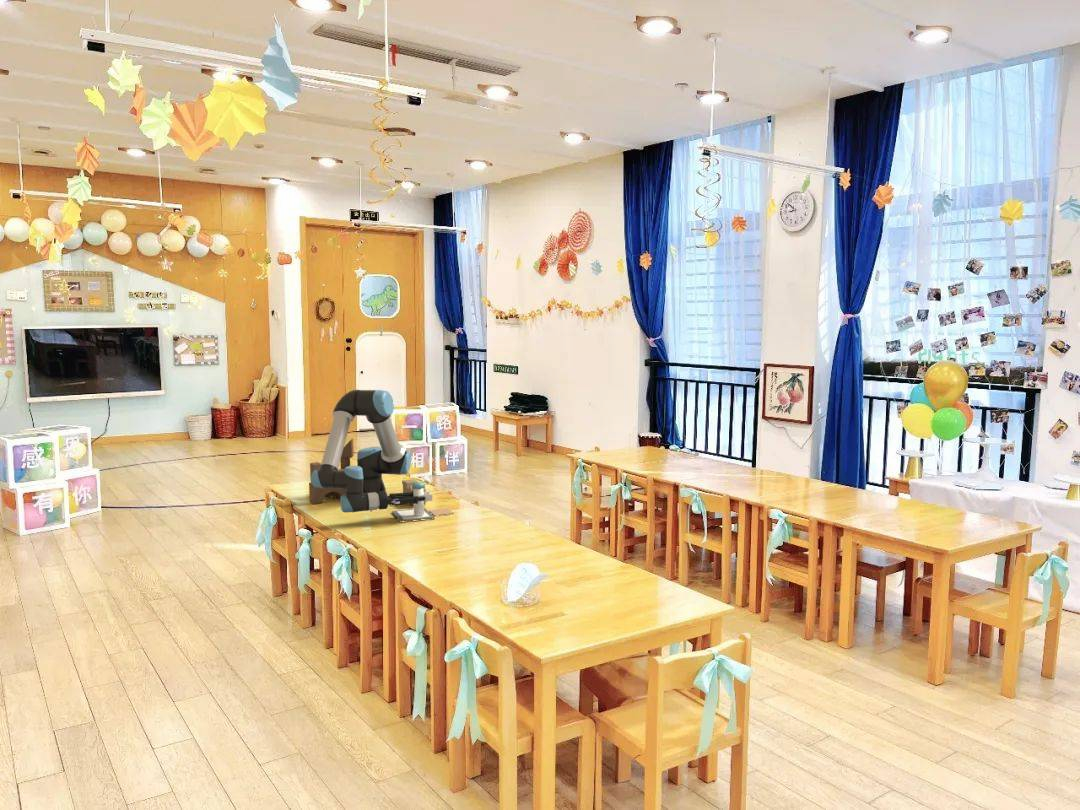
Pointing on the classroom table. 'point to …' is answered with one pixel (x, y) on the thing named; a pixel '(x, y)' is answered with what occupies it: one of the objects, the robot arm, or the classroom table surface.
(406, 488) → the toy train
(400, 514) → the writing board
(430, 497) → the robot arm
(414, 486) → the white bottle
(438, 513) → the coaster
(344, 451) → the wooden blocks
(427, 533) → the classroom table surface
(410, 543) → the classroom table surface
